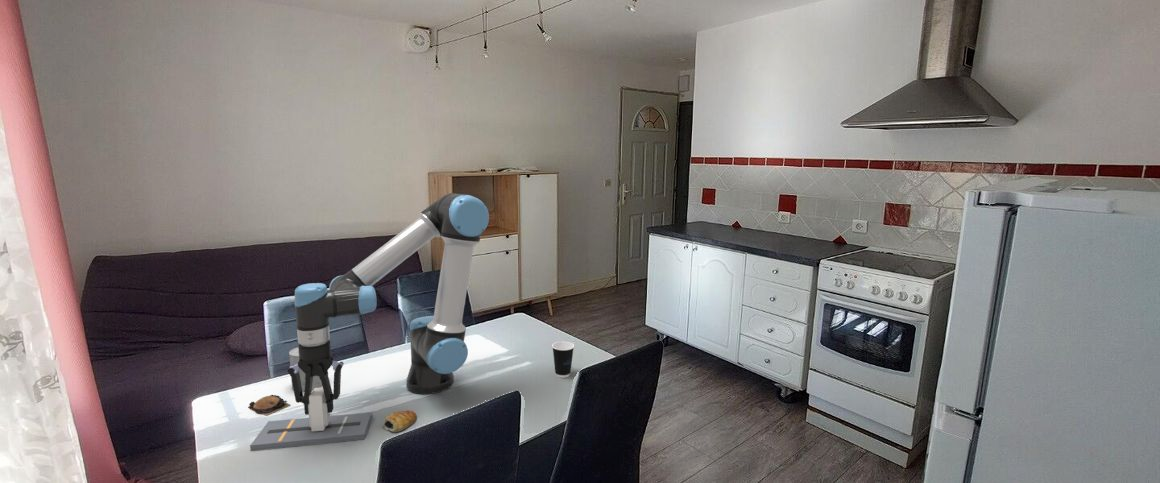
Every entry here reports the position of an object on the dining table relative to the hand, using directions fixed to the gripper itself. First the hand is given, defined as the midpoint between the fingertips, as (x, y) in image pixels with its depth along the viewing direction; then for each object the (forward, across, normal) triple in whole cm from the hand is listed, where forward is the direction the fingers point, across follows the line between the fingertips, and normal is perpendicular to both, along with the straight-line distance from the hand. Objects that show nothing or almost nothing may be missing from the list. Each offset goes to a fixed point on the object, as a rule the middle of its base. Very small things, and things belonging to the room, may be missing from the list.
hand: (320, 423), depth 134 cm
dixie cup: (+3, +72, +24) cm, 76 cm away
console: (+3, -1, 0) cm, 3 cm away
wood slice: (+3, -19, +18) cm, 27 cm away
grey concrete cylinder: (+3, -12, +31) cm, 33 cm away
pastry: (+3, +20, 0) cm, 21 cm away
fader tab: (+1, 0, 0) cm, 1 cm away
